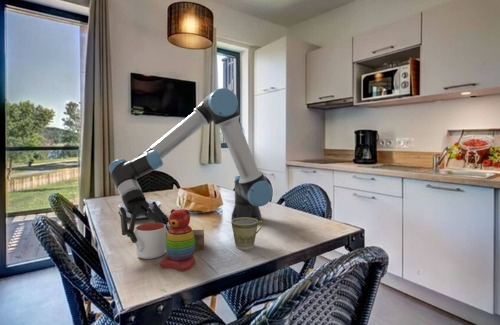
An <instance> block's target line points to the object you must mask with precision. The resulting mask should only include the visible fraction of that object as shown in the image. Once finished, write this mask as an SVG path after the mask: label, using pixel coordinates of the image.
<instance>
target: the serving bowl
mask: <svg viewBox="0 0 500 325" xmlns="http://www.w3.org/2000/svg"><path fill="white" fill-rule="evenodd" d="M146 201H147V202H148V203H153V202H154V201H155V202H156V204H157V206H158V207H159V208H160V209H161V208H162V203H161V201H158V200H154V199H146ZM121 207H123V208H126V207H125V205H124V203H123V202H121V203H119V204H118V211H119V210H120V208H121ZM149 208H150V207H149ZM151 210H152V209H151ZM152 212H153V211H152ZM147 213H148V211H147ZM126 215H127V218H130V219H131V214H130V213H129V212H127V213H126ZM146 218H148V217H146V216H145V215H144V216H139V217H136V220H138V219H139V220H140V219H146Z"/></svg>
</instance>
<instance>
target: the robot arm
mask: <svg viewBox="0 0 500 325" xmlns="http://www.w3.org/2000/svg"><path fill="white" fill-rule="evenodd" d="M238 100H239V99H238V97H237V95H236V94H235V93H234V92H233V91H232V90H230V89H229V88H225V87H224V88H223V87H222V88H221V87H220V88H218V89H215V90H212V92H211V93H209V94H208V95H206V96H205V97H204V99H203V100H201V102H200V103H199V104H198V105H196V107H195V108H193V112H191V114H188V116H187V117H185V118H184V119H182V121H180V122H179V123H177V124H176V125H175V126H174V127H173V128H171V129H170V130H169V131H168V132H166V133H165V134H164V135H162V136H161V138H159V139H158V140H156V141H155V142H154V143H152V145H150V146H148V148H146V150H144V151H143V152H141V153H139V155H138V156H137V157H135V158H133V159H131V160H129V161H127V160H126V158H125V159H124V158H119V159H115V160H113V161H112V162H110V164H109V165H108V171H109V173H110V177H111V179H112V181H113V183H114V185H115V187H116V189H117V192H118V194H119V197H120V198H121V200H122V203H124V205H125V207H126V208H123V207H121V208H120V210H119V209H118V215H119V216H120V225H121V226H120V228H121V235H122V236H127V237H128V238H130V240H131V243H132V244H135V247H136V246H137V249H138V251H139V252H141V251H142V250H143V248H144V246H143V244H142V242H141V240H140V237H139V235H138V233H137V231H136V230H135V228H136V227H135V226H136V221H137V219H136V217H139V216H144V215H145V216H146V217H147V218H149V220H151V221H153V223H162V224H165V225H166V239H167V233H168V230H169V229H168V227H167V223H169V222H168V219H169V216H167V215H166V214H165V212H163V210H162V209H161V207H160V208H159V207H158V206H157V204H156V202H155V201H156V200H155V201H154V202H153V203H148V202H147V201H146V200H147V199H146V196H145V194H144V193H143V191H142V188H141V186H140V184H139V182H138V180H137V179H139V178H141V177H143V176H145V175H147V174H149V173H151V172H154V171H156V170H158V169H159V168H161V167H163V166H164V162H163V160H164V158H165V157H167V156H168V155H169V154H170V153H171V152H173V151H174V150H175V149H177V148H178V147H179V146H180V145H181V144H183V143H184V142H185V141H186V140H187V139H189V138H190V137H191V136H192V135H194V134H195V133H196V132H198V131H199V130H200V129H201V128H203V127H204V126H208V125H209V124H211V123H212V122H213V123H214V126H215V127H218V128H219V129H220V131H221V133H222V136H223V139H224V141H225V142H226V146H227V148H228V150H229V154H230V155H231V158H232V161H233V163H234V165H235V168H236V170H237V173H238V174H236V175H235V176H234V206H233V209H232V213H231V218H230V219H231V221H232V220H233V219H236V218H242V217H248V218H254V219H257V220H258V221H259V220H261V221H262V213H261V209H260V207H264V206H265V205H267V204H268V203H269V202H270V201H271V200H272V197H273V194H274V192H273V191H274V190H273V186H272V185H271V184H270V182H268V181H267V180H266V178H265V175H264V172H263V171H261V170H259V168H258V167H257V164H256V162H255V159H254V157H253V154H252V151H251V148H250V146H249V144H248V142H247V141H248V140H247V139H246V136H245V133H244V131H243V128H242V126H241V124H240V121H239V119H240V116H241V113H240V111H239V109H238V107H239V106H238V105H239V101H238ZM149 207H150V208H149ZM151 209H152V210H151ZM147 211H148V213H147ZM152 211H153V212H152ZM127 212H129V213H130V214H131V218H130V221H129V226H128V217H127V215H126V213H127Z"/></svg>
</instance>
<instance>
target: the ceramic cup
mask: <svg viewBox="0 0 500 325" xmlns="http://www.w3.org/2000/svg"><path fill="white" fill-rule="evenodd" d="M260 223H262V225H261V227H260V228H259V229H258V225H259V224H260ZM264 226H265V223H264V221H263V220H262V219H261V220H259V221H258V220H257V219H254V218H248V217H242V218H236V219H233V220H231V229H232V232H233V238H234V245H235V248H236V249H238V250H243V251H249V250H252V249H253V248H254V247H255V241H256V235H257V234H258V233H259V232H260V230H262V229H263V227H264Z"/></svg>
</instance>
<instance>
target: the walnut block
mask: <svg viewBox="0 0 500 325" xmlns="http://www.w3.org/2000/svg"><path fill="white" fill-rule="evenodd" d="M192 230H193V233H194V237H195V249H194V252H198V251H199V252H200V251H201V252H202V251H205V229H192Z"/></svg>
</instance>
